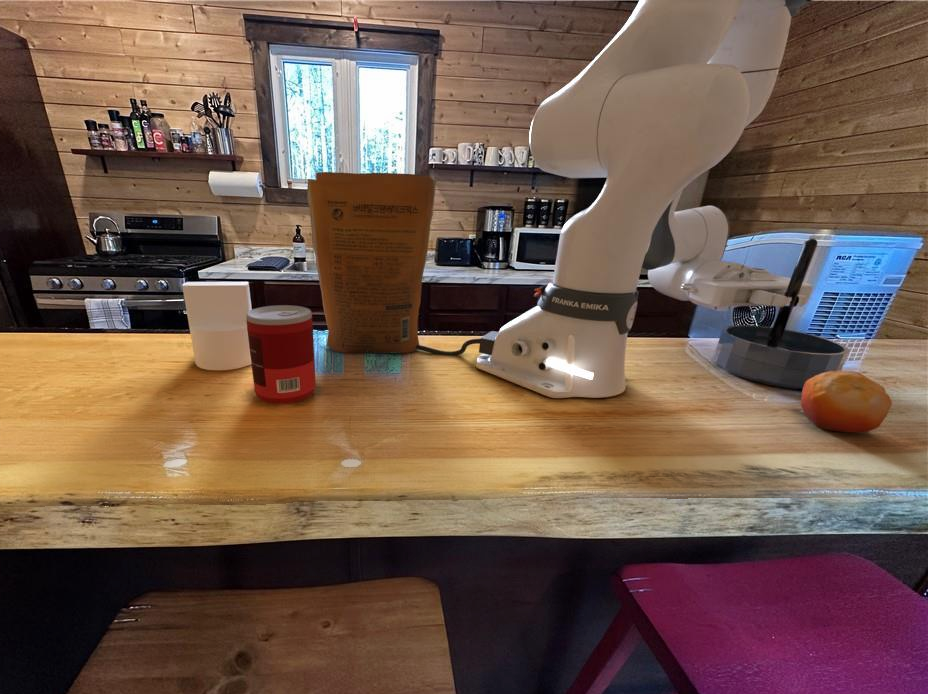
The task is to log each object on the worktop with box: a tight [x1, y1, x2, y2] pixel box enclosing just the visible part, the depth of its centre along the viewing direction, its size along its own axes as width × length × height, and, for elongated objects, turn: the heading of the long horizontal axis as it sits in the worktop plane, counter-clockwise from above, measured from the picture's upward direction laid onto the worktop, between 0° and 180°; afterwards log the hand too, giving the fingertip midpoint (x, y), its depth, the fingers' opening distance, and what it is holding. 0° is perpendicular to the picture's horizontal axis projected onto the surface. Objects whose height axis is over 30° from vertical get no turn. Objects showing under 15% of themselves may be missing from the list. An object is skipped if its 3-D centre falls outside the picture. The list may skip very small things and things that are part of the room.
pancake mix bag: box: [306, 171, 437, 355], centre depth 70 cm, size 7×19×28 cm, turn 93°
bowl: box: [712, 324, 850, 390], centre depth 72 cm, size 16×16×6 cm
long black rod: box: [761, 238, 819, 350], centre depth 70 cm, size 5×5×20 cm
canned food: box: [246, 304, 317, 405], centre depth 56 cm, size 8×8×11 cm
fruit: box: [800, 370, 893, 434], centre depth 54 cm, size 8×8×8 cm
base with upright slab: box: [181, 281, 253, 371], centre depth 66 cm, size 9×9×12 cm
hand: (794, 302), depth 69 cm, fingers closed on long black rod
